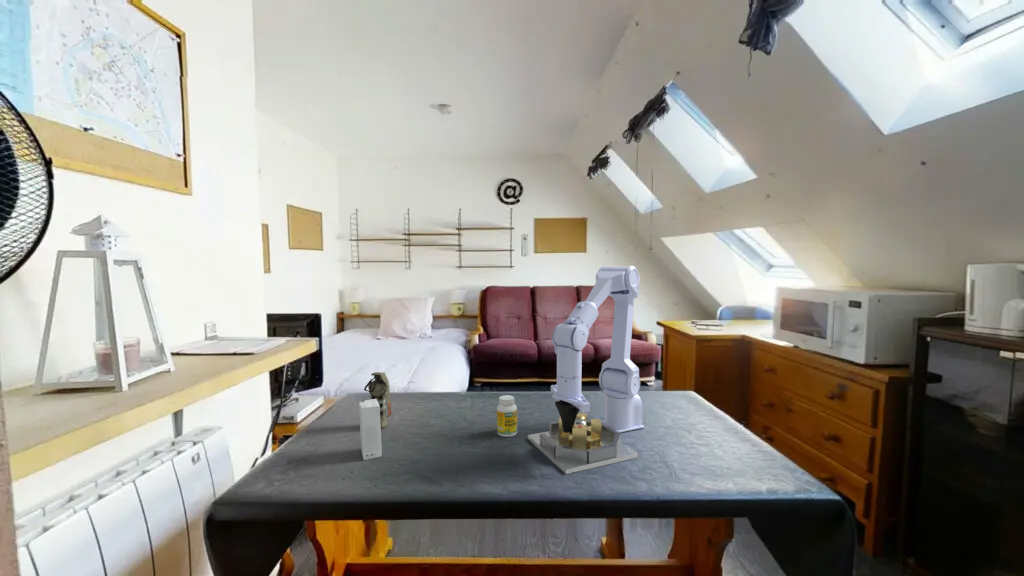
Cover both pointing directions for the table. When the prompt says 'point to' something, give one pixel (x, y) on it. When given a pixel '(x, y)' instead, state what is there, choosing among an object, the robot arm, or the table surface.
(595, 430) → the gold block ring
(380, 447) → the skincare box
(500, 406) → the supplement bottle
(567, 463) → the flange plate
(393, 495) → the table surface
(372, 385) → the grenade model
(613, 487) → the table surface
